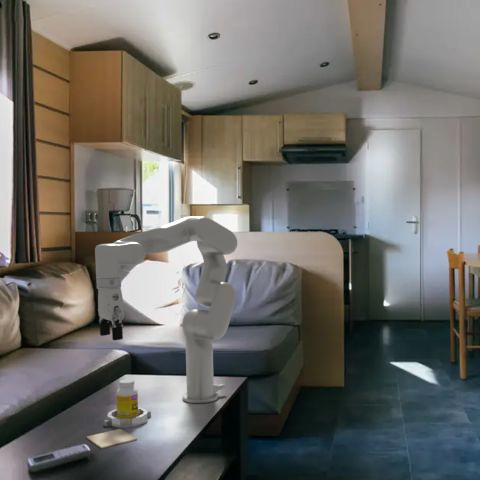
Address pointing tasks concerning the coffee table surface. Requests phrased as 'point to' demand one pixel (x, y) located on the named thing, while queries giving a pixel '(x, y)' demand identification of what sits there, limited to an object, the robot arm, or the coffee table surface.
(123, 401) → the supplement bottle
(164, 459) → the coffee table surface
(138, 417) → the collar
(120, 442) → the mat
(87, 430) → the coffee table surface
